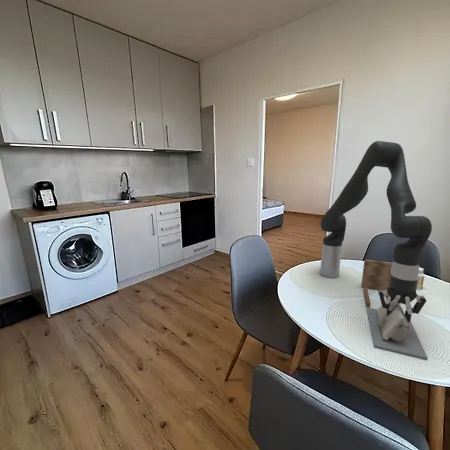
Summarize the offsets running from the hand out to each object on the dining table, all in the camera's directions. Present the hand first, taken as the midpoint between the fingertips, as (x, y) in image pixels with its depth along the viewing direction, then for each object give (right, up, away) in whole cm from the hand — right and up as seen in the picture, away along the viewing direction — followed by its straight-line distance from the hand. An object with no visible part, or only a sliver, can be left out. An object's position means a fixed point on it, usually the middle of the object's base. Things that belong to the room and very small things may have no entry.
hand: (397, 320), depth 87 cm
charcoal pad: (-1, -4, +2) cm, 5 cm away
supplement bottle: (+31, +3, +33) cm, 45 cm away
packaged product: (-3, -4, +3) cm, 6 cm away
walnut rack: (+7, +1, +23) cm, 24 cm away
